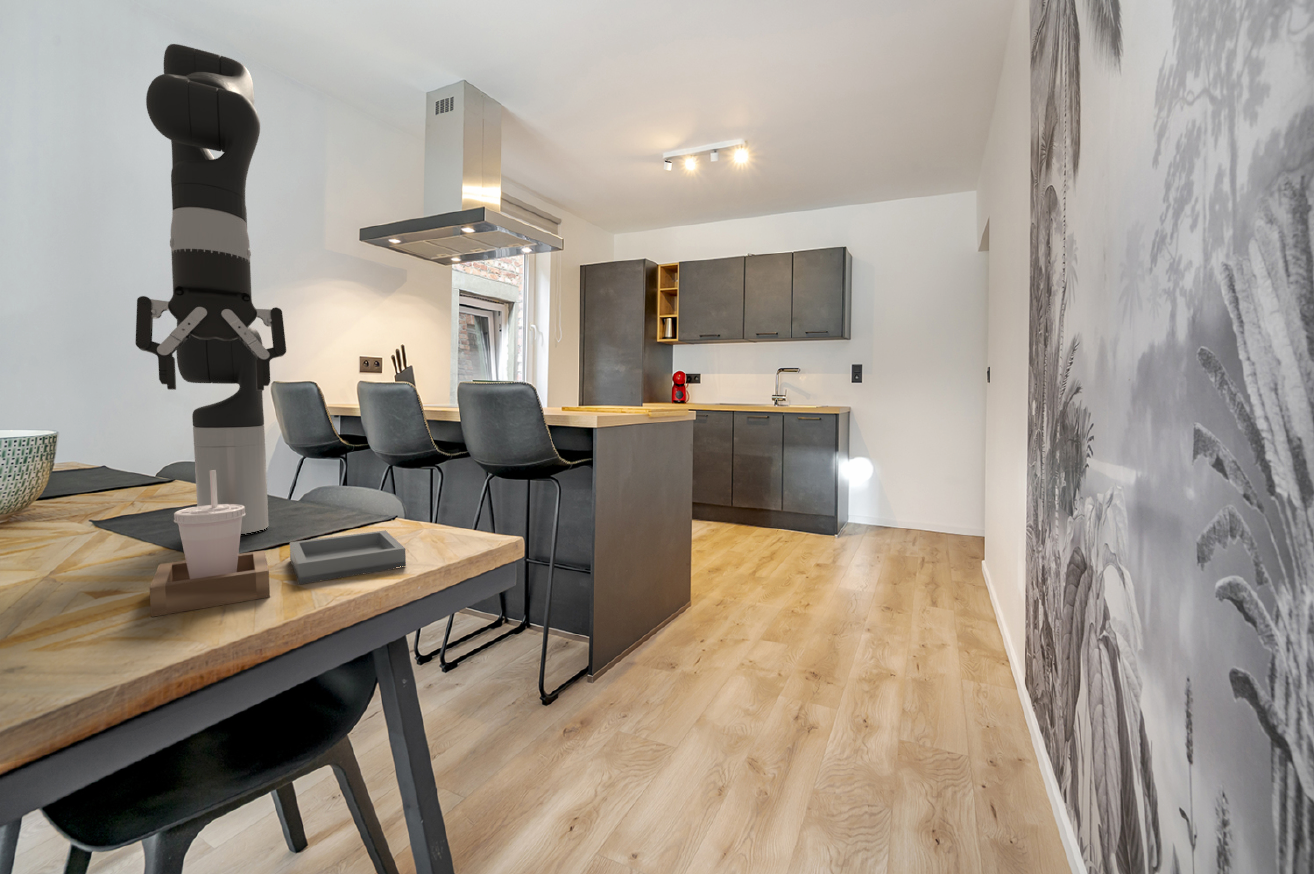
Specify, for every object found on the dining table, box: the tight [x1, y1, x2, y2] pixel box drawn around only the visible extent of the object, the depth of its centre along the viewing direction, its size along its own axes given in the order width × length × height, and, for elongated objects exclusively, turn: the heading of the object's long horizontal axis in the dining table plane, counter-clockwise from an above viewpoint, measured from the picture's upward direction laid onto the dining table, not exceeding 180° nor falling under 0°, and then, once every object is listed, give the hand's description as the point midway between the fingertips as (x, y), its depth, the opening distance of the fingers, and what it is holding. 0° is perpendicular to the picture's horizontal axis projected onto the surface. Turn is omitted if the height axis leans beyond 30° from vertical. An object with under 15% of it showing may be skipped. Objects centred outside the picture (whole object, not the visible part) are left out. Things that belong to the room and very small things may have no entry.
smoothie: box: [173, 470, 246, 579], centre depth 64 cm, size 6×6×14 cm
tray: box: [289, 530, 407, 585], centre depth 76 cm, size 12×12×2 cm
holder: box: [149, 550, 271, 618], centre depth 65 cm, size 10×10×3 cm
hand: (217, 389), depth 69 cm, fingers open, 8 cm apart
